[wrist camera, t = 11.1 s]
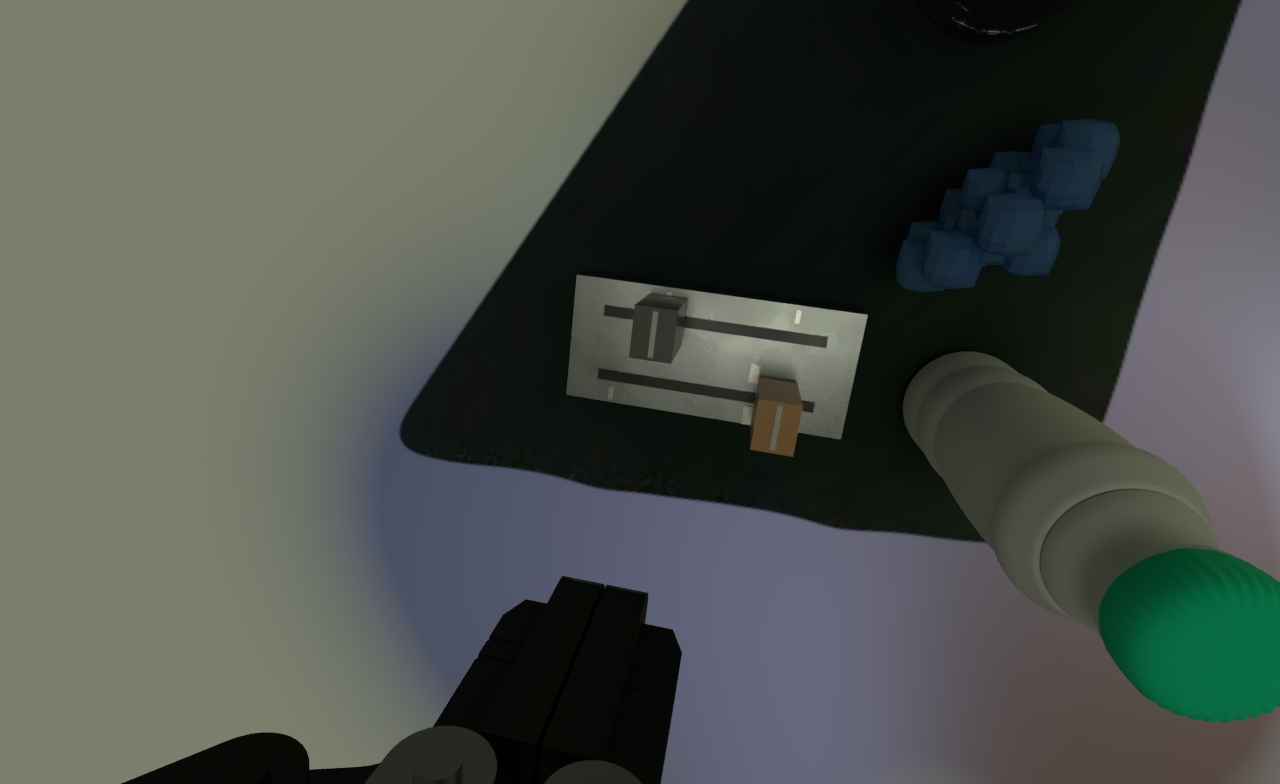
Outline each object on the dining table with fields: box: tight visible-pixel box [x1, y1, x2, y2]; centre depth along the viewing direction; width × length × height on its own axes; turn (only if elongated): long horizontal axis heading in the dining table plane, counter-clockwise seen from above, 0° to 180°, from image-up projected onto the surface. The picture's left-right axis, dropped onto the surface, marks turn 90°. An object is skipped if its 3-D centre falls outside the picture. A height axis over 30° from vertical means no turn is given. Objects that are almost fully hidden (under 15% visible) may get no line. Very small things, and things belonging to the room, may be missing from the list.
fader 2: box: [750, 377, 803, 457], centre depth 38 cm, size 3×2×5 cm
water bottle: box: [903, 351, 1280, 722], centre depth 29 cm, size 7×7×25 cm
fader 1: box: [629, 294, 687, 364], centre depth 38 cm, size 3×2×5 cm
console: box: [566, 272, 868, 439], centre depth 42 cm, size 8×18×2 cm, turn 83°
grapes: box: [895, 119, 1120, 292], centre depth 33 cm, size 12×7×12 cm, turn 131°
